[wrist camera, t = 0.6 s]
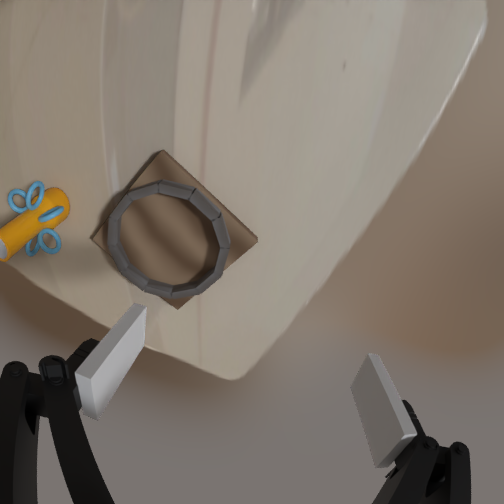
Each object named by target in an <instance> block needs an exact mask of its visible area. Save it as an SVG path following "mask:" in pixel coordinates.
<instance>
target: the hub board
mask: <svg viewBox="0 0 504 504" xmlns="http://www.w3.org/2000/svg"><path fill="white" fill-rule="evenodd" d="M93 241H95V242H96V243H97V244H98V245H99V246H100V247H101V248H102V249H104V250H105V251H106V252H107V253H108V254H109V255H110V256H112V257H113V259H114V261H115V263H116V265H117V267H118V269H119V271H120V272H121V274H122V275H124V276H125V277H126V278H127V279H129V280H130V281H131V282H132V283H133V284H135V285H136V286H137V287H138V288H140V289H141V290H142V291H143V290H144V292H147V293H150V294H154V295H158V296H160V297H162V298H163V299H164V300H166V301H167V302H168V303H170V304H171V305H172V306H173V307H175V308H176V309H177V310H178V309H179V308H180V307H182V306H183V305H184V304H185V303H186V302H187V301H189V300H190V299H191V298H192V297H193V296H194V295H200V294H201V293H203V292H204V291H205V290H206V289H207V288H209V287H210V286H211V285H212V284H213V283H215V282H216V281H217V280H218V279H219V278H220V277H221V276H222V274H223V271H224V270H225V269H226V268H228V267H229V266H230V265H231V264H232V263H233V262H235V261H236V260H237V259H238V258H239V257H241V256H242V255H243V254H244V253H245V252H247V251H248V250H249V249H250V248H251V247H252V246H254V245H255V244H256V243H257V242H258V237H257V236H256V235H255V234H254V233H253V232H251V231H250V230H249V229H248V228H247V227H246V226H245V225H244V224H243V223H242V222H241V221H240V220H239V219H238V218H237V217H236V216H235V215H233V214H232V213H231V212H230V211H229V210H228V209H227V208H226V207H225V206H224V205H223V204H222V203H221V202H220V201H219V200H218V199H216V198H215V197H214V196H213V195H212V194H211V193H210V192H209V191H208V190H207V189H206V188H205V187H204V186H203V185H202V184H200V183H199V182H198V181H197V180H196V179H195V178H194V177H193V176H192V175H191V174H190V173H189V172H188V171H186V170H185V169H184V168H183V167H182V166H181V165H180V164H179V163H178V162H177V161H176V160H175V159H173V158H172V157H171V156H170V155H169V154H168V153H167V152H166V151H165V150H162V151H161V152H160V153H159V154H158V155H157V156H156V157H155V159H154V160H153V161H152V162H151V163H150V164H149V166H148V167H147V168H146V169H145V170H144V172H143V173H142V174H141V175H140V176H139V178H138V179H137V180H136V181H135V183H134V184H133V185H132V186H131V188H130V189H129V190H128V192H127V193H126V194H125V195H124V197H123V198H122V199H121V201H120V202H119V203H118V205H117V206H116V207H115V209H114V210H113V211H112V213H111V214H110V215H109V217H108V218H107V220H106V221H105V222H104V224H103V225H102V227H101V228H100V229H99V231H98V232H97V234H96V235H95V237H94V238H93Z"/></svg>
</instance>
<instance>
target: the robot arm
mask: <svg viewBox="0 0 504 504" xmlns="http://www.w3.org/2000/svg"><path fill="white" fill-rule="evenodd" d="M146 308H147V306H144V305H140V304H137V303H134V304H133V305H132V306H131V307H130V308H129V309H128V311H127V312H126V313H125V314H124V315H123V316H122V317H121V318H120V320H119V321H118V322H117V323H116V324H115V325H114V326H113V328H112V329H111V330H110V331H109V332H108V333H107V335H106V336H105V337H104V338H103V339H102V340H101V342H100V341H97V340H95V339H92V338H91V339H89V340H87V341H84V342H83V343H82V344H81V345H80V346H79V347H78V349H76V350H75V352H74V353H73V354H72V355H71V356H70V357H69V358H68V359H67V360H66V361H65V360H64V359H63V358H62V357H59V356H54V355H50V356H46V357H44V358H42V359H41V360H40V362H39V366H38V367H39V371H40V374H41V375H40V374H36V373H31V372H29V371H28V368H27V366H26V365H25V364H24V363H22V362H19V361H12V362H9V363H8V364H6V365H5V367H4V368H3V371H2V374H1V378H0V504H38V502H37V445H38V431H39V419H40V416H43V417H47V418H49V423H50V428H51V432H52V436H53V440H54V445H55V448H56V451H57V456H58V459H59V462H60V466H61V469H62V472H63V475H64V478H65V481H66V484H67V487H68V490H69V492H70V495H71V498H72V501H73V503H74V504H115V503H114V501H113V499H112V497H111V495H110V493H109V491H108V489H107V487H106V484H105V482H104V480H103V478H102V475H101V473H100V471H99V469H98V466H97V463H96V461H95V459H94V456H93V453H92V450H91V448H90V445H89V442H88V439H87V437H86V434H85V431H84V428H83V425H82V422H81V418H80V415H79V410H80V409H81V407H82V410H83V414H84V415H86V416H88V417H90V418H92V419H95V420H97V421H98V419H99V418H100V416H101V415H102V413H103V411H104V409H105V408H106V406H107V404H108V403H109V401H110V399H111V398H112V396H113V394H114V393H115V391H116V390H117V388H118V386H119V385H120V383H121V381H122V380H123V378H124V376H125V375H126V373H127V372H128V370H129V368H130V367H131V365H132V364H133V362H134V360H135V359H136V357H137V356H138V354H139V352H140V351H141V349H142V348H143V346H144V341H145V323H146ZM351 390H352V394H353V396H354V400H355V402H356V406H357V409H358V412H359V415H360V418H361V422H362V424H363V428H364V431H365V434H366V438H367V441H368V444H369V448H370V451H371V455H372V458H373V461H374V465H375V468H384V467H388V466H389V465H390V464H391V463H392V462H393V461H395V464H396V466H395V467H394V468H393V469H392V470H391V471H390V473H388V474H387V476H386V478H387V477H388V476H389V477H388V478H387V480H386V482H385V484H384V485H383V487H382V489H381V490H380V492H379V493H378V495H377V497H376V498H375V500H374V501H373V503H372V504H471V470H470V455H469V449H468V448H467V446H466V445H465V444H463V443H461V442H454V443H453V444H452V445H451V446H450V447H449V448H447V447H442V446H439V444H438V443H437V441H436V440H435V439H434V438H432V437H429V436H426V435H425V433H424V431H423V429H422V427H421V424H420V423H419V420H418V419H417V416H416V414H414V411H413V408H412V407H411V405H410V404H409V403H408V402H407V401H406V400H401V398H400V396H399V394H398V392H397V390H396V388H395V386H394V384H393V382H392V380H391V378H390V376H389V374H388V372H387V370H386V368H385V367H384V365H383V363H382V361H381V359H380V357H379V355H377V354H369V353H368V354H367V356H366V358H365V360H364V362H363V364H362V366H361V368H360V370H359V372H358V373H357V375H356V377H355V379H354V381H353V383H352V385H351Z"/></svg>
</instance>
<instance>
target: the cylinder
mask: <svg viewBox="0 0 504 504" xmlns="http://www.w3.org/2000/svg"><path fill="white" fill-rule="evenodd" d="M36 187H39V188H40V193H39V195H37V196H36V197H34V198H33V200H32V201H31V196H32V193H33V191H34V190H35V188H36ZM44 190H45V189H44V184H43V183H42V182H41V181H36V182H34V183H33V184H32V185H31V187H30V188H29V190H28V192H27V193H26V192H24V191H23V190H21V189H14V190H12V191H11V192H10V193H9V195H8V203H9V205H10V207H11V208H12V209H13V210H14V211H15V212H17V213H21V214H20V215H18V216H17V217H16V218H14V219H13V220H11V221H10V222H9V223H7V224H6V225H5V226H3V227H2V228H1V229H0V261H2V262H6V261H8V260H9V259H10V258H11V257H12V256H13V255H14V254H15V253H16V252H18V251H19V250H20V249H21V248H22V247H23V246H24V245H26V247H25V249H26V253H27V255H28V256H34V255H35V254H36V253H37V252H38V250H39V248H40V247H41V248H42V249H43V250H44V251H45V252H47V253H49V254H55V253H57V252H58V251H59V250H60V248H61V240H60V237H59V236H58V234H57V233H56V232H55V231H54V230H53V229H54V228H55V227H57V226H58V225H59V224H60V223H61V222H63V221H64V220H65V219H66V218H67V217H68V214H69V211H70V204H69V200H68V198H67V196H66V194H65V193H64V192H63V191H62V190H61V189H59V188H54V187H53V188H49V189H47V190H46V191H44ZM15 194H19V195H21V196H23V197H24V199H25V201H26V206H25V207H24V208H19V207H17V206H16V205H15V204H14V202H13V200H12V197H13V195H15ZM45 233H48V234H51V235H52V236H53V237H54V238H55V240H56V247H55V248H54V249H51V248H48V247H47V246H46V245H45V244H44V242H43V235H44V234H45ZM36 235H37V243H36V246H35V248H34V249H33V250H32V251H30V244H31V241H32V239H33V238H34V237H35V236H36Z"/></svg>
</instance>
